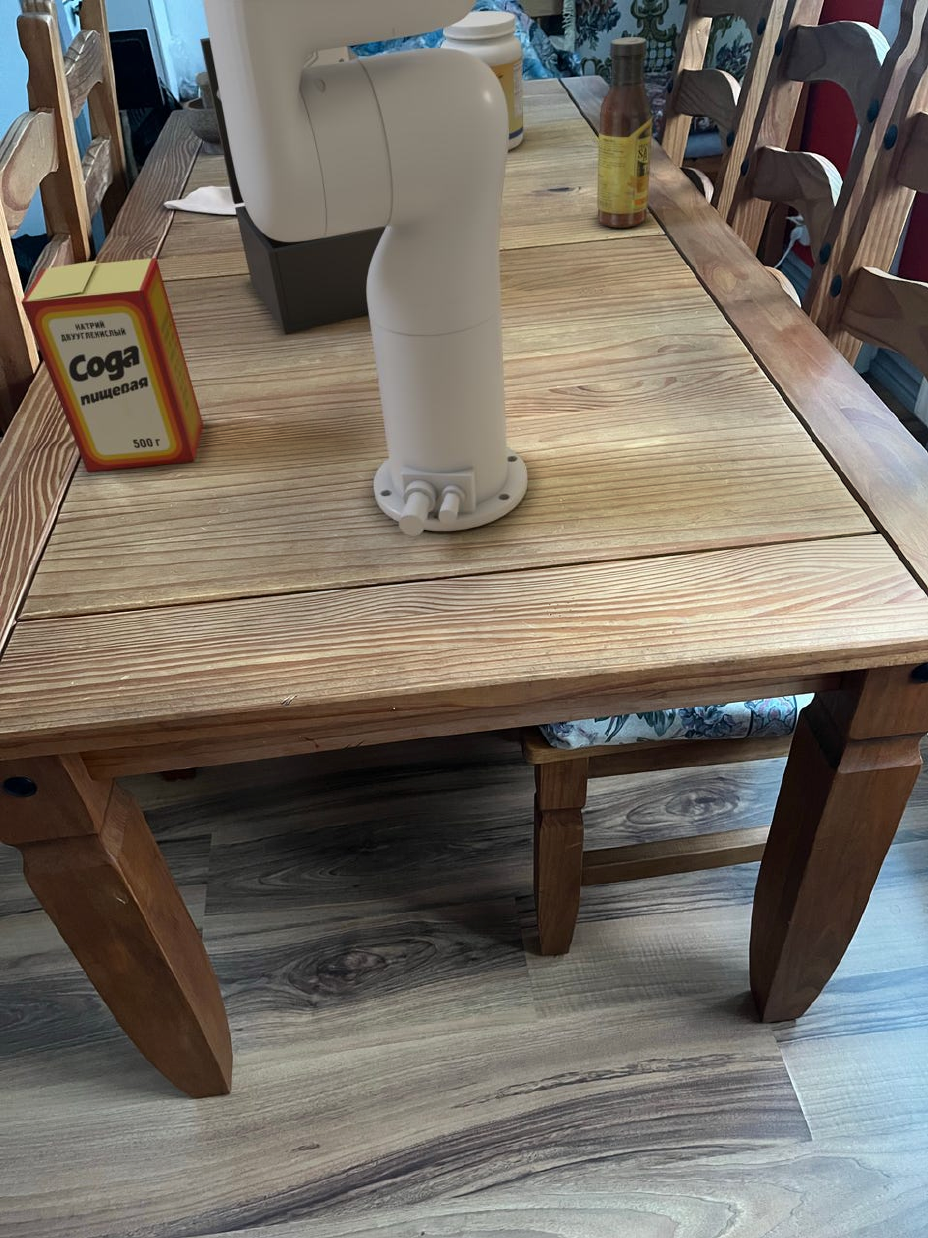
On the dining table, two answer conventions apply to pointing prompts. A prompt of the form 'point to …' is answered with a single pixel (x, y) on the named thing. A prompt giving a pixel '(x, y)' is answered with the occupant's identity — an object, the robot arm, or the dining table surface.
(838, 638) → the dining table surface
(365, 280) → the dark grey storage bin
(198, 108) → the mortar and pestle
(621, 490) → the dining table surface
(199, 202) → the cloth
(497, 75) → the supplement tub
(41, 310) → the baking soda box
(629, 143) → the sauce bottle
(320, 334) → the dining table surface
